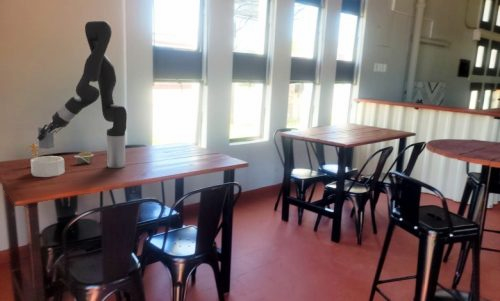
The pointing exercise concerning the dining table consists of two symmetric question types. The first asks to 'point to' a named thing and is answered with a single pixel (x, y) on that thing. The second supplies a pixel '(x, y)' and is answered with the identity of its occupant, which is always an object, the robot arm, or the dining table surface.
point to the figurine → (34, 149)
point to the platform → (84, 158)
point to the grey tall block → (46, 140)
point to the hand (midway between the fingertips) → (42, 138)
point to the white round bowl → (47, 166)
